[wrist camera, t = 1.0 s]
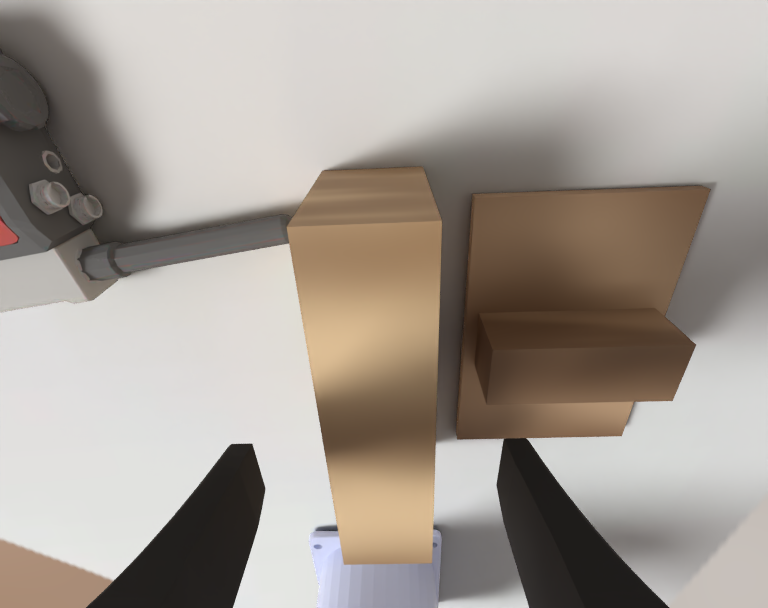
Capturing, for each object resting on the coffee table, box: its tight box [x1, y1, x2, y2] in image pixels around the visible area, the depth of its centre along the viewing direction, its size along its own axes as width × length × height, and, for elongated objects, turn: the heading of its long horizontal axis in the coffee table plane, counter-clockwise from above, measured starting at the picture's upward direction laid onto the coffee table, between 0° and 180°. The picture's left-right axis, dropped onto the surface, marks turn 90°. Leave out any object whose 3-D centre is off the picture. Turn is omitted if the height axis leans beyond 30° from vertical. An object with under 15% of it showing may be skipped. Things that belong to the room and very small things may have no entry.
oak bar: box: [287, 166, 442, 565], centre depth 15 cm, size 14×4×6 cm, turn 2°
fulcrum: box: [456, 186, 711, 439], centre depth 16 cm, size 12×8×3 cm, turn 2°
